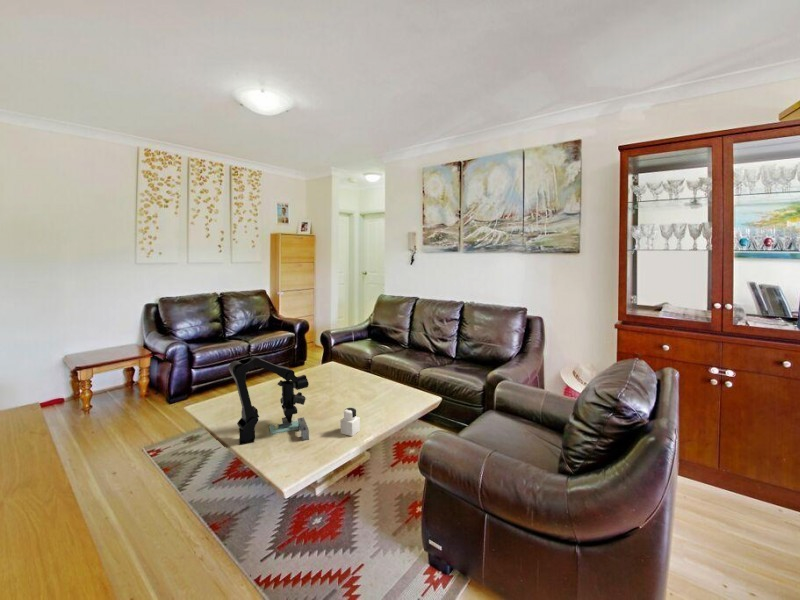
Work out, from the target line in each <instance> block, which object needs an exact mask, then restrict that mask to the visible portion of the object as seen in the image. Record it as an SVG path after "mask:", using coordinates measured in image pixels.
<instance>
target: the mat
mask: <svg viewBox="0 0 800 600" xmlns="http://www.w3.org/2000/svg"><path fill="white" fill-rule="evenodd" d="M276 424H277V426H278V425H280V424H283V422H282V423H276ZM268 426H269V434H270V435H277V434H280V433H286V432H287V433H288V432H291V431H292V432H293V431H299V428H298V420H293V422H292V425H291V426H288V427H284V426H281V427H279V426H278V429H275V424H272V425H268Z"/></svg>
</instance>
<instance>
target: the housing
mask: <svg viewBox="0 0 800 600" xmlns="http://www.w3.org/2000/svg"><path fill="white" fill-rule="evenodd" d="M297 422H298V428H299V429H298V432H301V433H300V435H301V440H302V441H308V440H310V429H309V427H308V425H307V422H306V420H305V417H298V418H297Z"/></svg>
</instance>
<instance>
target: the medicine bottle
mask: <svg viewBox="0 0 800 600" xmlns="http://www.w3.org/2000/svg"><path fill="white" fill-rule="evenodd" d="M360 419H361V417H359V416H357V410H356V408H354V407H347V408H345V409H344V410H343V418H340V434H342V435H346V436H349V437H353V436H355V435H356V434H357V433H359V432H360V430H361V420H360Z"/></svg>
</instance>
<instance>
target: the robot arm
mask: <svg viewBox="0 0 800 600" xmlns="http://www.w3.org/2000/svg"><path fill="white" fill-rule="evenodd" d="M255 367H258V368H261V369H264V370H266V371H268V372H271V373H273V374H276V375H277V376H279V377H280V378H282V379H284V380H281V379H280V381H278V382H277V385H278V386H279V387H281V398H280V405H281V408H282V410H283V415H284V417H286V418H287V420H288V422H289V423H291V420H293V415H296V414H298V408H297V406H295V405H296V404H298V405H299V404H300V405H305V402H306V397H305V395H303V394H302V392H299V390H303V389H307V388H309V379H308V378H307V375H305V374H302V375H299V376H297V375H296V374H295V371H294V370H293V369H291V368H289V367H286V366H283V365H276V364H274V363H272V362H270V361H266V360H264V359H262V358H259V357H258V356H256V355H253V356H250V357H247V358H242V359H240V360H233V361H232V362H230V363H229V365H228V371H229V373H230V374H231V376H232V378H233V380H234V382H235V385H236V389H237V393H238V396H239V401H240V404H241V417H240V419H239V420H238V421H237V422H236V424H237V426H238V434H239V436H238V437H239V439H238V440H239V445H245V444H251V443H255V439H256V429H255V427H256V425H257V423H258V422H259V418H260V415H259V413H258V409H257V408H256V406H254V405H253V404H252V400H251V398H250V394H249V393H250V392H249V390H248V389H249V388H248V385H247V382H246V376H247V372H249V371H250V370H252V369H253V368H255ZM294 390H297V391H298V393H296V394H295V391H294Z"/></svg>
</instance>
